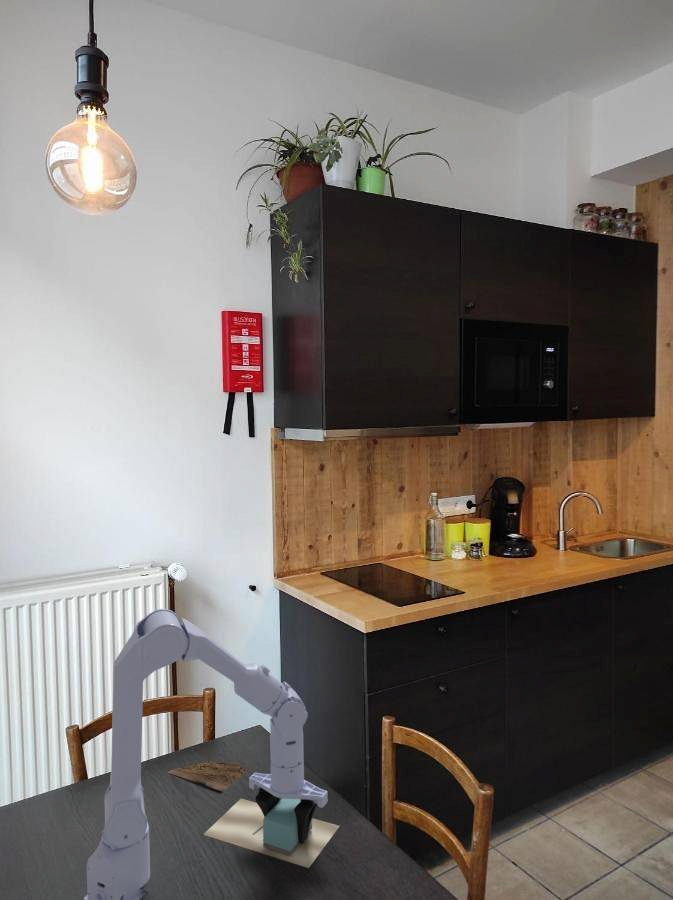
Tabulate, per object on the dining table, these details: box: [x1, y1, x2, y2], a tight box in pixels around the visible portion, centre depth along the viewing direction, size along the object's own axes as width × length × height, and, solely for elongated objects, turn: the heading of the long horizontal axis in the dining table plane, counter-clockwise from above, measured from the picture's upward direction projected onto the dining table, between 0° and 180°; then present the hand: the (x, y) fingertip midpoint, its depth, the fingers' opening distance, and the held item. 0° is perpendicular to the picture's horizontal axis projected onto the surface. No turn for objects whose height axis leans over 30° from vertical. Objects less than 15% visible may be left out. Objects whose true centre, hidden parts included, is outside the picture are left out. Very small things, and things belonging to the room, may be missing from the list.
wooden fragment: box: [167, 761, 249, 793], centre depth 138 cm, size 26×11×1 cm, turn 72°
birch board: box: [202, 798, 341, 869], centre depth 119 cm, size 12×21×2 cm, turn 65°
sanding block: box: [263, 798, 312, 856], centre depth 116 cm, size 8×5×5 cm, turn 155°
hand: (288, 835), depth 116 cm, fingers closed on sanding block, 5 cm apart
